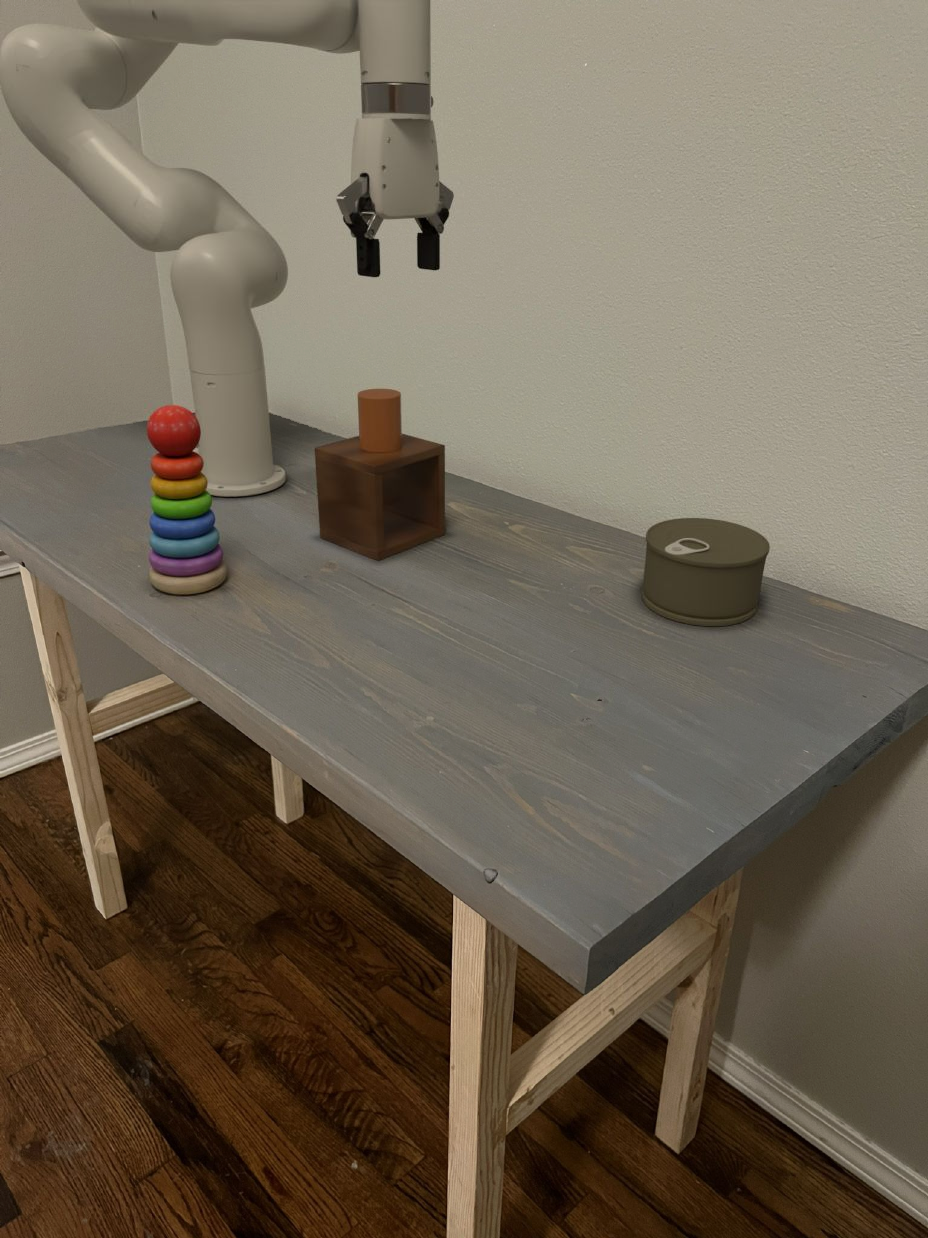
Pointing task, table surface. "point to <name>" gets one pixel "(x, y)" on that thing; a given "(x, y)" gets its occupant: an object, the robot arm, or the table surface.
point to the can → (703, 571)
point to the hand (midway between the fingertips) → (399, 272)
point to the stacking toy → (181, 508)
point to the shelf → (381, 495)
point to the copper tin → (380, 420)
